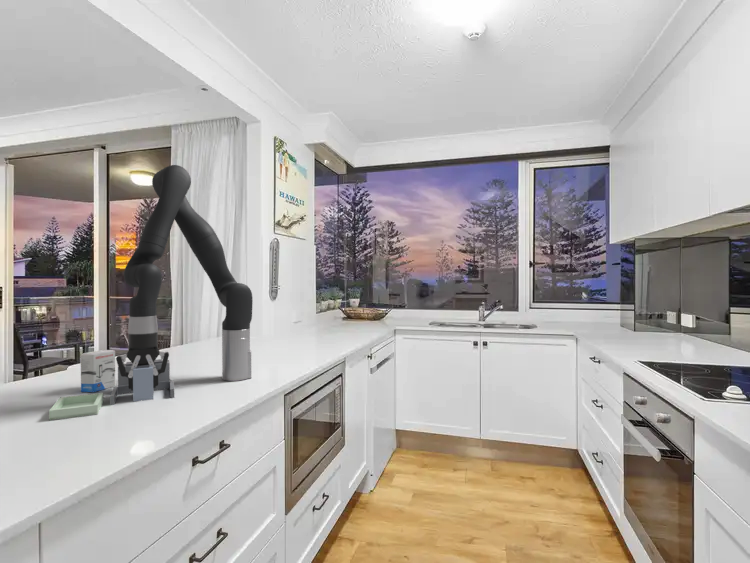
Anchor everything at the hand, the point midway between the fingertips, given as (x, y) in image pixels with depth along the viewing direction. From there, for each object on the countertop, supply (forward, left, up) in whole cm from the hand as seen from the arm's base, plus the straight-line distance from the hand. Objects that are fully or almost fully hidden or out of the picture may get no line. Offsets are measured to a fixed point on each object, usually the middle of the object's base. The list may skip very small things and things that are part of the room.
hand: (143, 388), depth 122 cm
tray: (+15, +6, -2) cm, 16 cm away
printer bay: (0, -4, -2) cm, 5 cm away
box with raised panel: (0, 0, -2) cm, 2 cm away
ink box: (+13, -17, -3) cm, 21 cm away
